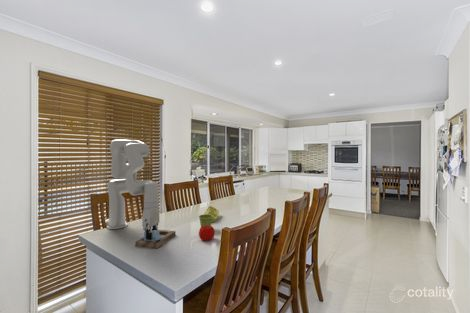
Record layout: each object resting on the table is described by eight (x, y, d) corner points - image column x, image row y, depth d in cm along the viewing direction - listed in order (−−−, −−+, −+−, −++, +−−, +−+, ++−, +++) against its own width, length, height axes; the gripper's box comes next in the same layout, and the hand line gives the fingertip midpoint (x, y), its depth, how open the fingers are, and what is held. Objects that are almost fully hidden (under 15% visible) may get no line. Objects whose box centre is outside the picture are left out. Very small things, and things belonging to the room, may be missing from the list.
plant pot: (215, 227, 156) (215, 214, 156) (210, 232, 147) (210, 218, 146) (201, 226, 158) (201, 213, 158) (196, 231, 149) (196, 217, 148)
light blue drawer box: (140, 241, 128) (140, 230, 128) (144, 239, 132) (144, 228, 131) (158, 243, 125) (158, 232, 125) (162, 240, 129) (162, 229, 129)
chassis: (135, 246, 125) (135, 241, 125) (155, 233, 145) (155, 229, 145) (157, 248, 122) (157, 243, 122) (175, 235, 142) (175, 230, 142)
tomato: (206, 235, 142) (206, 223, 142) (217, 239, 136) (217, 226, 136) (195, 240, 134) (195, 227, 134) (205, 243, 129) (205, 230, 129)
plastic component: (216, 219, 166) (203, 213, 166) (211, 228, 167) (199, 222, 167) (219, 210, 186) (208, 204, 186) (215, 218, 187) (204, 212, 187)
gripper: (153, 201, 137) (154, 232, 138) (135, 208, 121) (135, 243, 121) (165, 201, 135) (165, 233, 136) (148, 209, 119) (148, 244, 119)
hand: (151, 237), depth 128 cm, fingers open, 4 cm apart
